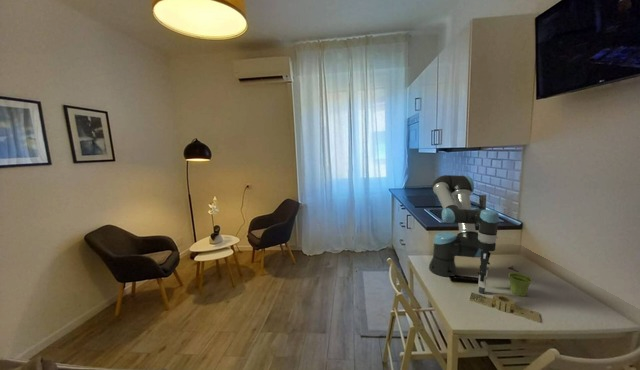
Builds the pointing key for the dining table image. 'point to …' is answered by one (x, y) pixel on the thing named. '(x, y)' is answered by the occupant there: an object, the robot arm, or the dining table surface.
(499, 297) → the hinge
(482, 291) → the pin
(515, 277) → the plant pot
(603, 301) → the dining table surface
